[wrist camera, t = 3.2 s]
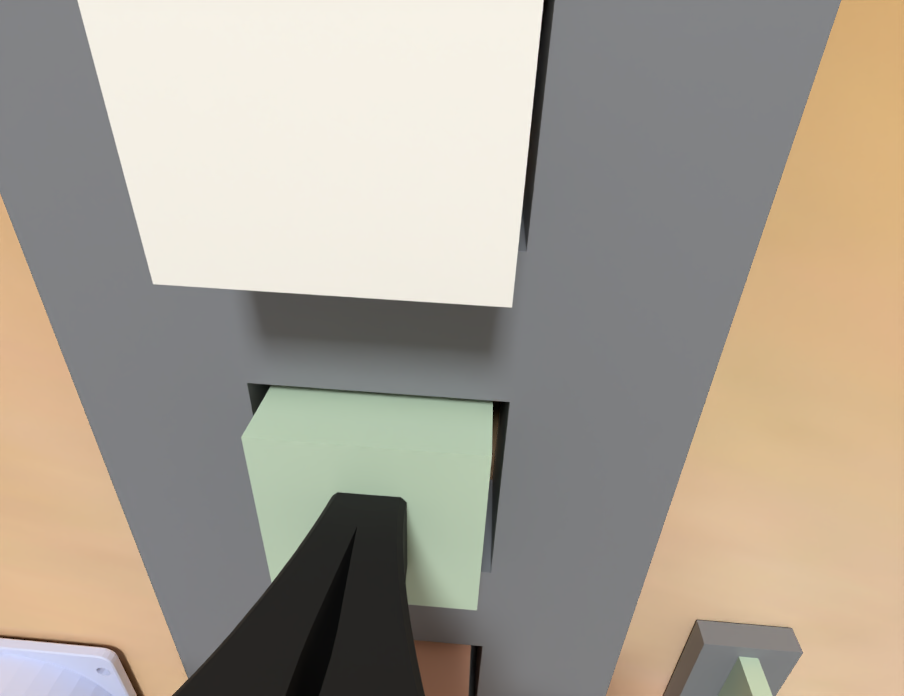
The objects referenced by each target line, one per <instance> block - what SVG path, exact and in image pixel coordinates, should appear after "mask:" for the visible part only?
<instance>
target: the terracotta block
mask: <svg viewBox="0 0 904 696" xmlns="http://www.w3.org/2000/svg"><path fill="white" fill-rule="evenodd" d="M414 644H415V650H416V655H417V660H418V665H419V670H420V675H421V680H422V684H423V689H424V693H425V696H469V675H470V654H471V645H464V644H453V643H442V642H430V641H419V640H414Z"/></svg>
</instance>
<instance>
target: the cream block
mask: <svg viewBox="0 0 904 696" xmlns="http://www.w3.org/2000/svg"><path fill="white" fill-rule="evenodd" d="M77 1H78V5H79V8H80V12H81V16H82V20H83V23H84V27H85V31H86V35H87V38H88V42H89V46H90V50H91V53H92V57H93V61H94V65H95V68H96V72H97V76H98V80H99V83H100V87H101V91H102V95H103V98H104V102H105V106H106V110H107V113H108V117H109V121H110V125H111V128H112V132H113V136H114V140H115V143H116V147H117V151H118V155H119V158H120V162H121V166H122V170H123V173H124V177H125V181H126V184H127V188H128V192H129V196H130V199H131V203H132V207H133V211H134V214H135V218H136V222H137V226H138V229H139V233H140V237H141V241H142V244H143V248H144V252H145V256H146V259H147V263H148V267H149V271H150V274H151V278H152V282H153V284H158V285H173V286H188V287H204V288H219V289H234V290H250V291H265V292H280V293H296V294H311V295H326V296H342V297H357V298H372V299H388V300H403V301H418V302H434V303H449V304H464V305H480V306H495V307H510V308H512V303H513V293H514V284H515V274H516V264H517V255H518V245H519V235H520V225H521V216H522V206H523V196H524V186H525V177H526V167H527V157H528V148H529V138H530V128H531V118H532V109H533V99H534V89H535V79H536V70H537V60H538V50H539V40H540V31H541V21H542V11H543V2H544V0H77Z"/></svg>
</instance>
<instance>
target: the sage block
mask: <svg viewBox="0 0 904 696" xmlns="http://www.w3.org/2000/svg"><path fill="white" fill-rule="evenodd" d="M492 424H493V401H490V400H476V399H462V398H448V397H434V396H421V395H407V394H393V393H379V392H365V391H351V390H337V389H324V388H310V387H296V386H282V385H271V387H270V388H269V390H268V392H267V393H266V395H265V397H264V399H263V400H262V402H261V404H260V406H259V407H258V409H257V411H256V412H255V414H254V416H253V418H252V419H251V421H250V423H249V424H248V426H247V428H246V430H245V431H244V433H243V435H242V437H241V439H242V444H243V449H244V454H245V458H246V463H247V468H248V473H249V477H250V482H251V487H252V492H253V496H254V501H255V506H256V511H257V516H258V520H259V525H260V530H261V535H262V539H263V544H264V549H265V554H266V558H267V563H268V568H269V573H270V577H271V582H273V581H274V579H275V578H276V577H277V575H278V574H279V573H280V571H281V570H282V569H283V567H284V566H285V565H286V563H287V562H288V561H289V559H290V558H291V557H292V555H293V554H294V553H295V551H296V550H297V548H298V547H299V546H300V544H301V543H302V541H303V540H304V538H305V537H306V536H307V534H308V533H309V531H310V530H311V528H312V527H313V525H314V524H315V522H316V521H317V519H318V518H319V516H320V515H321V513H322V511H323V510H324V508H325V507H326V505H327V503H328V502H329V500H330V498H331V497H332V496H333V495H334V494H336V493H337V492H342V493H354V494H367V495H379V496H392V497H401V498H403V499H404V500H405V501H406V502H407V573H406V591H407V599H408V604H409V605H420V606H432V607H443V608H454V609H466V610H477V605H478V594H479V584H480V574H481V563H482V553H483V543H484V532H485V522H486V512H487V501H488V491H489V481H490V470H491V460H492Z"/></svg>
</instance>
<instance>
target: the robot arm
mask: <svg viewBox="0 0 904 696" xmlns="http://www.w3.org/2000/svg"><path fill="white" fill-rule="evenodd" d="M406 573H407V502H406V501H405V500H404V499H403V498H401V497H392V496H379V495H367V494H354V493H342V492H337V493H336V494H334V495H333V496H332V497H331V498H330V500H329V502H328V503H327V505H326V507H325V508H324V510H323V511H322V513H321V515H320V516H319V518H318V519H317V521H316V522H315V524H314V525H313V527H312V528H311V530H310V531H309V533H308V534H307V536H306V537H305V538H304V540H303V541H302V543H301V544H300V546H299V547H298V548H297V550H296V551H295V553H294V554H293V555H292V557H291V558H290V559H289V561H288V562H287V563H286V565H285V566H284V567H283V569H282V570H281V571H280V573H279V574H278V575H277V577H276V578H275V579H274V581H273V582H272V583H271V585H270V586H269V587H268V588H267V590H266V591H265V592H264V593H263V595H262V596H261V597H260V598H259V600H258V601H257V602H256V603H255V604H254V606H253V607H252V608H251V609H250V610H249V612H248V613H247V614H246V615H245V616H244V618H243V619H242V620H241V621H240V622H239V624H238V625H237V626H236V627H235V628H234V630H233V631H232V632H231V633H230V634H229V635H228V637H227V638H226V639H225V640H224V641H223V642H222V643H221V644H220V645H219V647H218V648H217V649H216V650H215V651H214V652H213V653H212V654H211V655H210V657H209V658H208V659H207V660H206V661H205V662H204V663H203V664H202V665H201V666H200V667H199V668H198V669H197V670H196V671H195V673H194V674H193V675H192V676H191V677H190V678H189V679H188V680H187V681H186V682H185V683H184V684H183V685H182V686H181V687H180V688H179V689H178V690H177V691H176V692H175V693H174V694H173V695H172V696H425V693H424V689H423V684H422V680H421V675H420V670H419V665H418V660H417V655H416V650H415V644H414V639H413V633H412V628H411V621H410V615H409V608H408V599H407V591H406ZM0 696H137V695H136V692H135V690H134V688H133V686H132V684H131V682H130V680H129V678H128V676H127V674H126V672H125V670H124V668H123V666H122V664H121V662H120V660H119V658H118V656H117V654H116V653H115V652H114V651H112V650H110V649H108V648H103V647H94V646H83V645H72V644H61V643H51V642H40V641H29V640H19V639H8V638H0Z"/></svg>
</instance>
